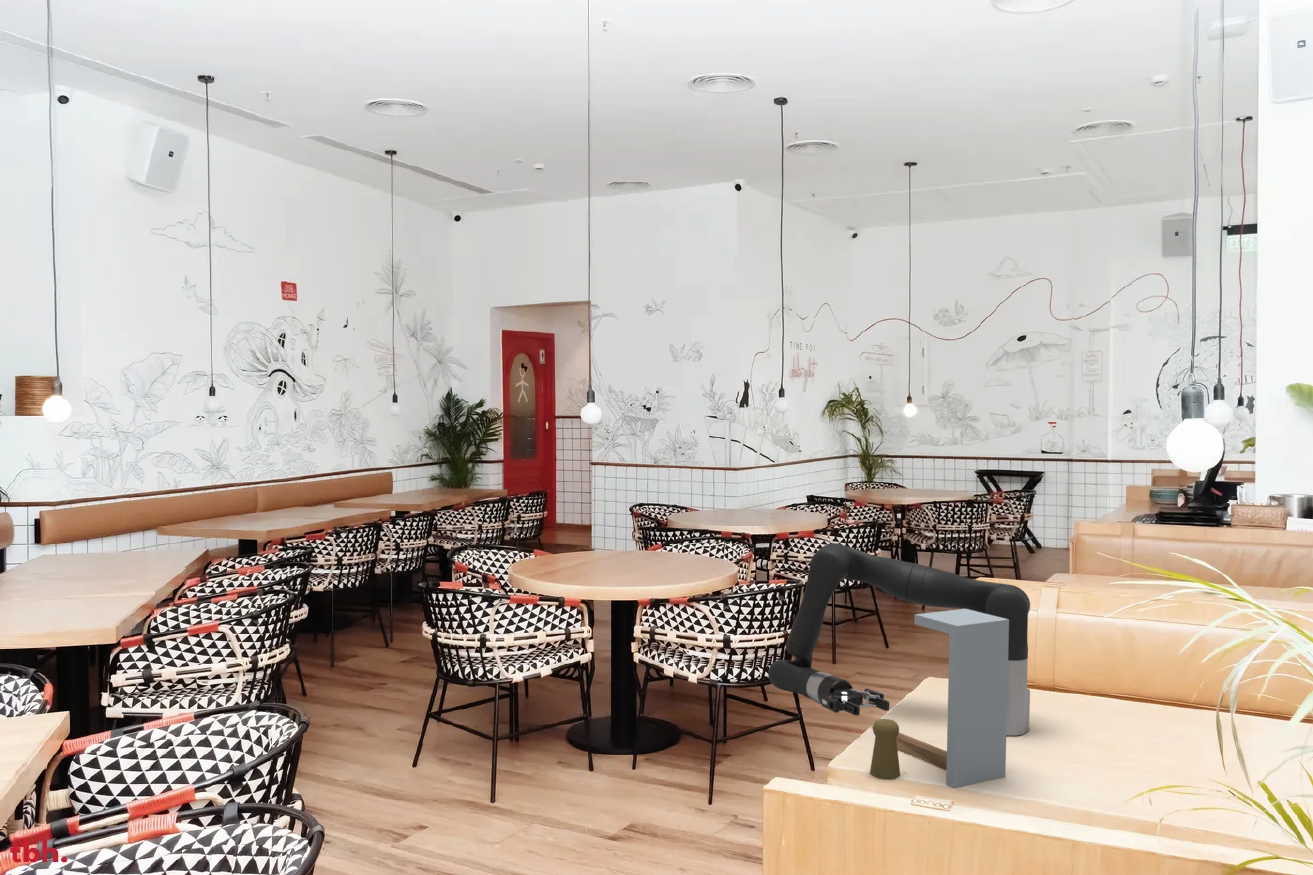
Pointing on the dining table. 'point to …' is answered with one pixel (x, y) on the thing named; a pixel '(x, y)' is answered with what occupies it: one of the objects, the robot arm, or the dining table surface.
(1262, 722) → the dining table surface
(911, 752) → the walnut rod
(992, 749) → the shelf stand
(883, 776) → the olive pawn
